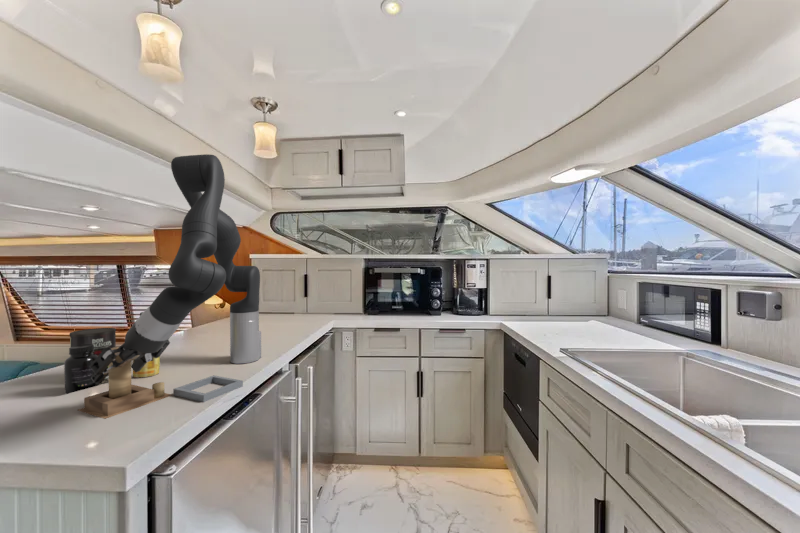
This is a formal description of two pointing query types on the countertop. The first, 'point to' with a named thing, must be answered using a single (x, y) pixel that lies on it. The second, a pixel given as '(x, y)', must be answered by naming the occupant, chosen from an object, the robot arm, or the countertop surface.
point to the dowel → (120, 379)
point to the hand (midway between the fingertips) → (115, 374)
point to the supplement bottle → (79, 368)
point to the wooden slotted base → (123, 401)
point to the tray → (203, 397)
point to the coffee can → (95, 339)
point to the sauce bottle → (148, 368)
